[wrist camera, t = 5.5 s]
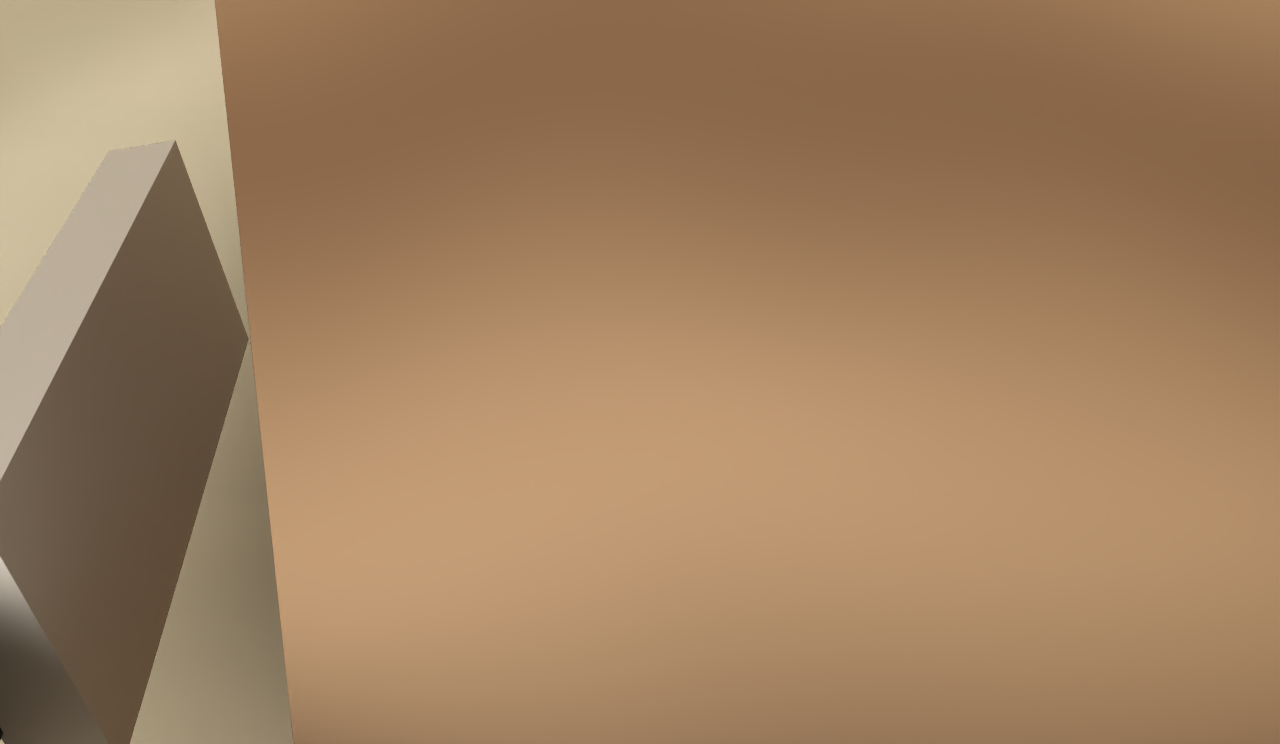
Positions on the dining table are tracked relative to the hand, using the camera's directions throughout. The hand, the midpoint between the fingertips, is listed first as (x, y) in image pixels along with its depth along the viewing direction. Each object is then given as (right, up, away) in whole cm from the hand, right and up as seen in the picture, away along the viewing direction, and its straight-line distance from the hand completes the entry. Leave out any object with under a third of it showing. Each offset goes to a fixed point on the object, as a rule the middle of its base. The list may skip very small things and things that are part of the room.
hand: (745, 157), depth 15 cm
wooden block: (0, -3, +4) cm, 5 cm away
